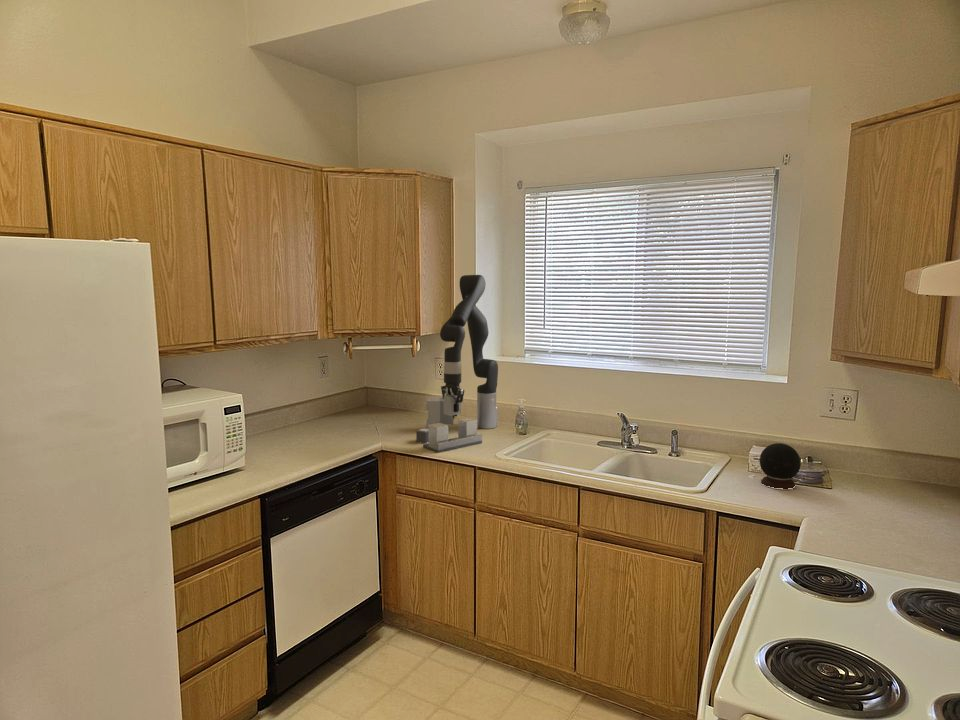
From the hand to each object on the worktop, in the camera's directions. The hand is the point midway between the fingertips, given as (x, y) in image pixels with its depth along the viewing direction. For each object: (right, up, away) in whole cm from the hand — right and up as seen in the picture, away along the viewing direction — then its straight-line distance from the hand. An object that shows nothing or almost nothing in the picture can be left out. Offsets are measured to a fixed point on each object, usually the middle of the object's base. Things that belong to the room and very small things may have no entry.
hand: (452, 410), depth 269 cm
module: (0, -1, 0) cm, 1 cm away
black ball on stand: (+118, -23, -47) cm, 129 cm away
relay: (-13, -14, +8) cm, 21 cm away
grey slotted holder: (0, -15, +2) cm, 15 cm away
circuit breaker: (-6, -12, +28) cm, 31 cm away
